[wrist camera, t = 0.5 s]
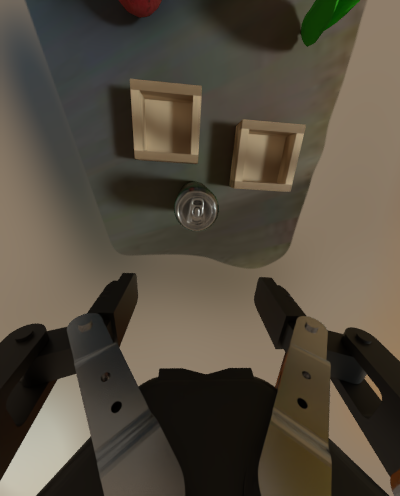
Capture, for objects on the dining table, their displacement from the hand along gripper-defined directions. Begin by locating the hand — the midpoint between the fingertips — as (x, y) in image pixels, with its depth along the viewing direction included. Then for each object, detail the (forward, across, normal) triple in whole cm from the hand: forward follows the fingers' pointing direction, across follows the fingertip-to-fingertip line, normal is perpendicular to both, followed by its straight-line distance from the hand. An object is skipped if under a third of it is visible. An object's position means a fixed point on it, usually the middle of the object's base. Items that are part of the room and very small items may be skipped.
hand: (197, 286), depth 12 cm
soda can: (+22, 0, -3) cm, 22 cm away
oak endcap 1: (+22, +4, -12) cm, 25 cm away
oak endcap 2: (+22, -10, -9) cm, 26 cm away
